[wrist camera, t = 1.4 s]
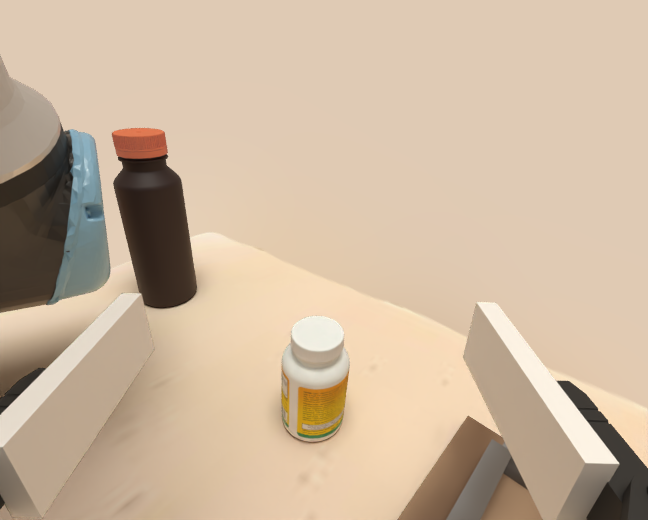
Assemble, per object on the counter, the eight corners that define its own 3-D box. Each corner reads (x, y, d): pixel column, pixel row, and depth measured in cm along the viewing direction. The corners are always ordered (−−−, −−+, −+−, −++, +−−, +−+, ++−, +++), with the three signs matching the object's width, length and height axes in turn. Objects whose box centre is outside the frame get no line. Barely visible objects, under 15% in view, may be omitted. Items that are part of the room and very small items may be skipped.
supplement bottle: (268, 419, 31) (265, 333, 26) (308, 382, 35) (311, 301, 30) (318, 458, 28) (324, 369, 24) (355, 412, 32) (366, 329, 27)
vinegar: (207, 284, 49) (187, 130, 39) (176, 313, 43) (143, 141, 33) (164, 275, 50) (134, 124, 40) (128, 302, 44) (83, 134, 35)
